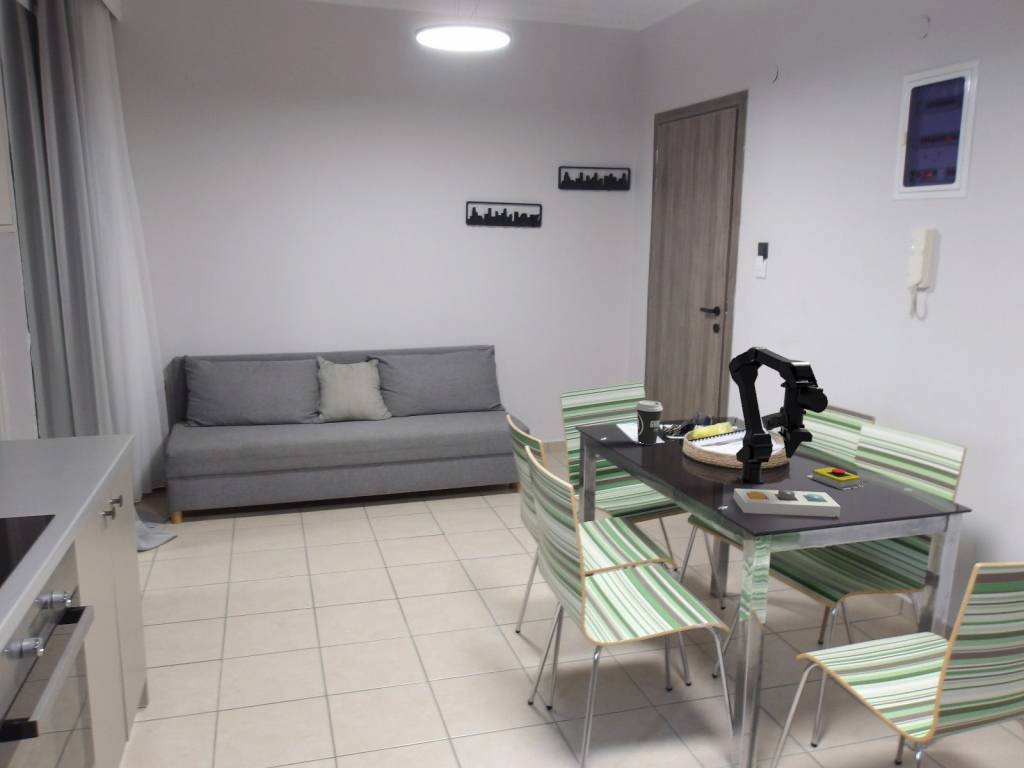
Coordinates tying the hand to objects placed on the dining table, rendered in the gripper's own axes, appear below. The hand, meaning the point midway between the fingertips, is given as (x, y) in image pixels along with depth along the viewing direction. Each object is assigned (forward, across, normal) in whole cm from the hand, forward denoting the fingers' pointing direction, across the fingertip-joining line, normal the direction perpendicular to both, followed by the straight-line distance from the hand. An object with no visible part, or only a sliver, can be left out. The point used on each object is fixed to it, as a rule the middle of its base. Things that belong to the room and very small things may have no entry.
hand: (788, 457), depth 231 cm
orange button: (+11, +9, -11) cm, 18 cm away
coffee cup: (+12, -55, -33) cm, 65 cm away
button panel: (+12, +9, -2) cm, 15 cm away
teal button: (+11, +9, +5) cm, 15 cm away
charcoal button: (+10, +9, -3) cm, 14 cm away
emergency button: (+13, -18, +21) cm, 31 cm away
